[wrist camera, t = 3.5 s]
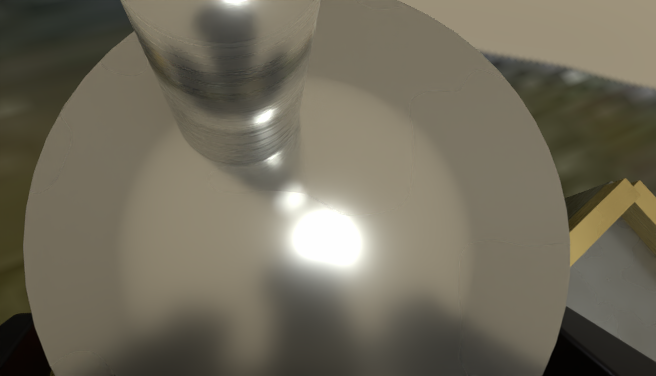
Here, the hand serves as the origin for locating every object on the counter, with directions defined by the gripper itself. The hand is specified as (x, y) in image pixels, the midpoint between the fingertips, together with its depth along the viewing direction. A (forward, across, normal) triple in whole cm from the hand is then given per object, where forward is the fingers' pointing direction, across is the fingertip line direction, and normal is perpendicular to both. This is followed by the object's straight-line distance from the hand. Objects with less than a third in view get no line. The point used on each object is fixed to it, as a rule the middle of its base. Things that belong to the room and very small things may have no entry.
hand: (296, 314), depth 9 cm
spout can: (+7, 0, +6) cm, 9 cm away
